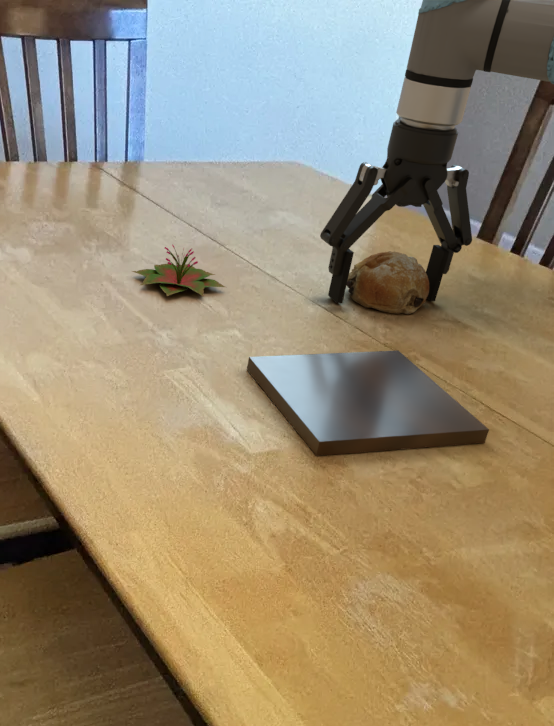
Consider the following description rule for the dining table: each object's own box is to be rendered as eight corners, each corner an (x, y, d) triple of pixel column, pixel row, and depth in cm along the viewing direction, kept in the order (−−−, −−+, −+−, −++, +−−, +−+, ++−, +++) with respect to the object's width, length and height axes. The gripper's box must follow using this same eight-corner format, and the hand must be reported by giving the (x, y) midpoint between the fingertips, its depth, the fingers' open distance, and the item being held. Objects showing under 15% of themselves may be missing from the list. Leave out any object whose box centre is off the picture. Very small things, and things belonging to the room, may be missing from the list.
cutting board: (395, 362, 98) (398, 350, 97) (484, 443, 85) (489, 429, 84) (246, 369, 94) (248, 356, 93) (316, 456, 80) (319, 441, 79)
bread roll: (378, 343, 111) (417, 297, 105) (324, 288, 114) (360, 239, 108) (415, 325, 118) (454, 280, 112) (364, 272, 120) (399, 226, 114)
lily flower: (242, 295, 111) (247, 259, 109) (162, 306, 106) (166, 269, 103) (191, 264, 119) (195, 230, 117) (115, 273, 114) (117, 238, 111)
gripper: (499, 119, 108) (449, 286, 120) (316, 111, 101) (283, 288, 113) (536, 133, 102) (479, 307, 114) (344, 126, 95) (306, 311, 108)
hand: (381, 298), depth 114 cm, fingers open, 13 cm apart
